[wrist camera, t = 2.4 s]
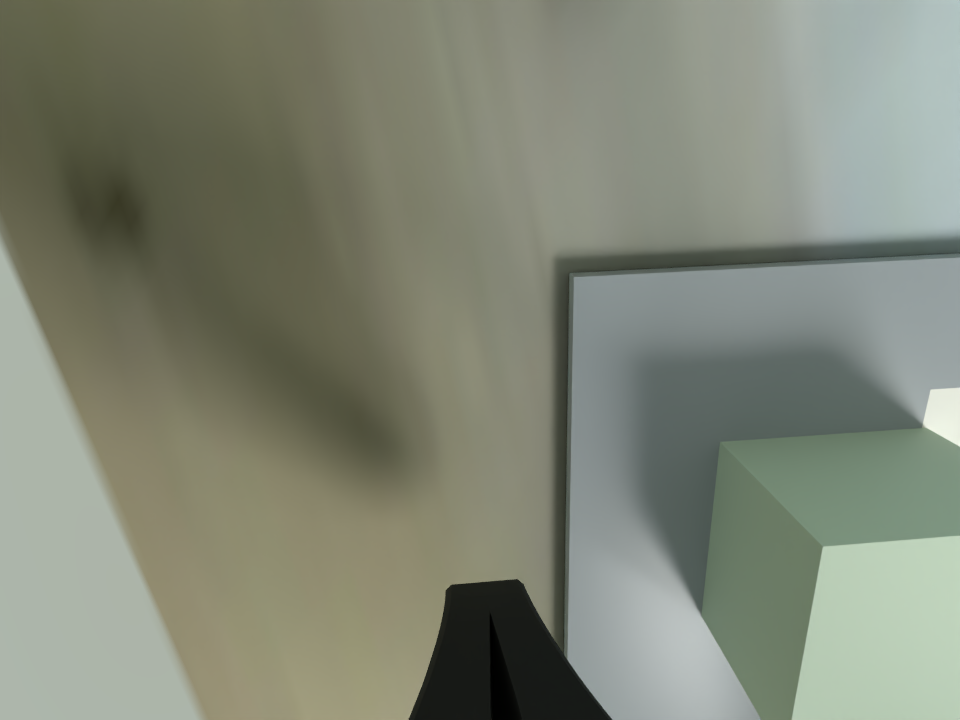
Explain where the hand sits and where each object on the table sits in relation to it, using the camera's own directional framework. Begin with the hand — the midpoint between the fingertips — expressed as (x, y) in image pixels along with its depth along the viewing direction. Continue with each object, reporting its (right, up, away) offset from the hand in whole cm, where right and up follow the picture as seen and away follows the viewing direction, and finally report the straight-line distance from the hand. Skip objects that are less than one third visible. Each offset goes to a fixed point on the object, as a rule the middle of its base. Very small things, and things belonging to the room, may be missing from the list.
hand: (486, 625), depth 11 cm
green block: (+7, +1, +3) cm, 8 cm away
